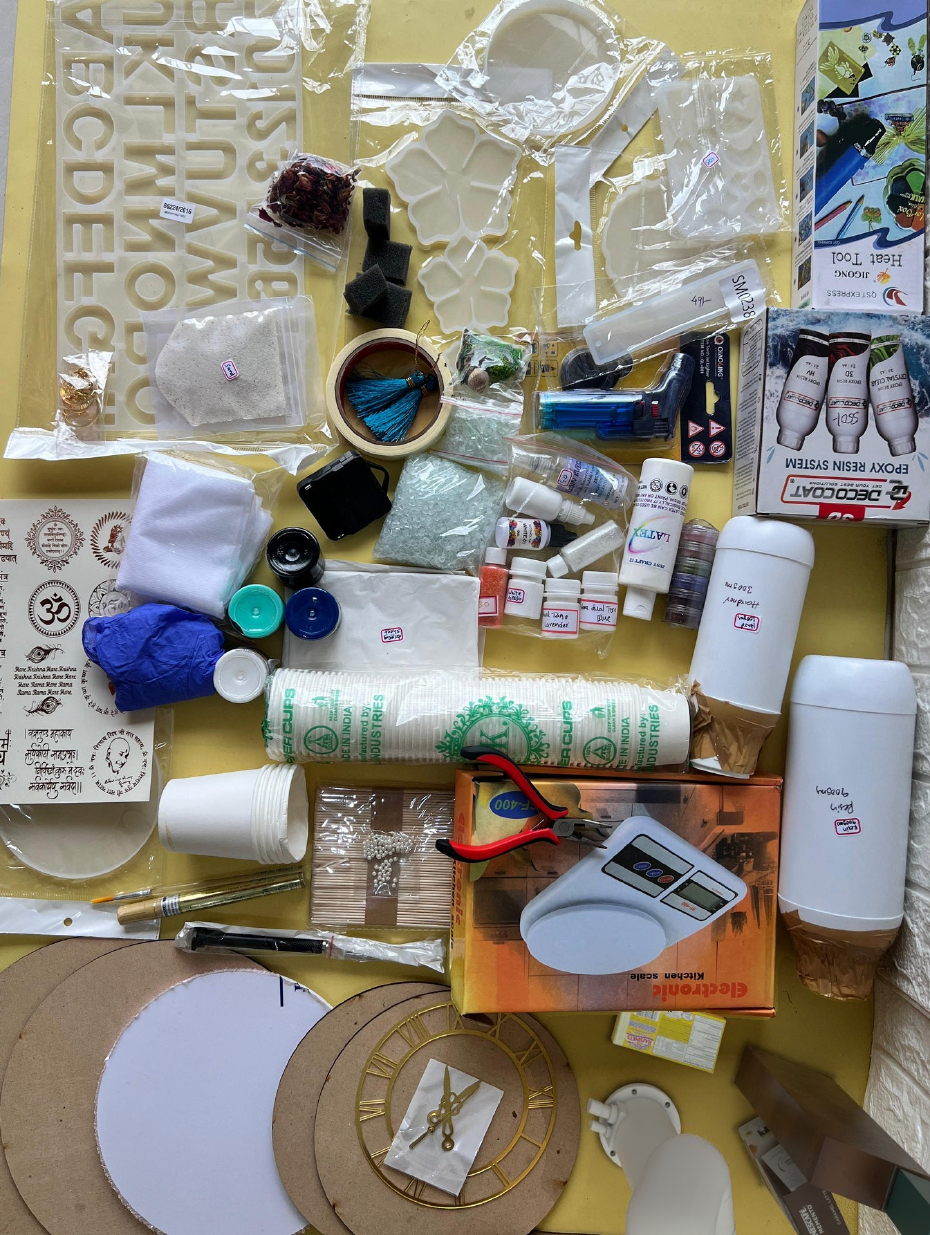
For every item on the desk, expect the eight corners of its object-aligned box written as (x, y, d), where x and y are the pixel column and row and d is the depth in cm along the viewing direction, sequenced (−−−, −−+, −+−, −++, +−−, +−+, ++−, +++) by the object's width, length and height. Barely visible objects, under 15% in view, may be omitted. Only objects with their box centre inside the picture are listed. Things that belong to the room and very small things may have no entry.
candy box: (708, 1068, 123) (723, 1016, 123) (713, 1075, 121) (728, 1022, 121) (609, 1037, 123) (625, 985, 123) (612, 1044, 121) (628, 991, 121)
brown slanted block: (733, 1082, 123) (811, 1185, 97) (746, 1045, 123) (826, 1137, 98) (820, 1116, 123) (919, 1227, 98) (832, 1078, 123) (934, 1179, 98)
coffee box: (735, 1128, 122) (780, 1194, 106) (771, 1108, 122) (821, 1171, 106) (762, 1183, 121) (812, 1259, 105) (798, 1163, 122) (853, 1235, 106)
